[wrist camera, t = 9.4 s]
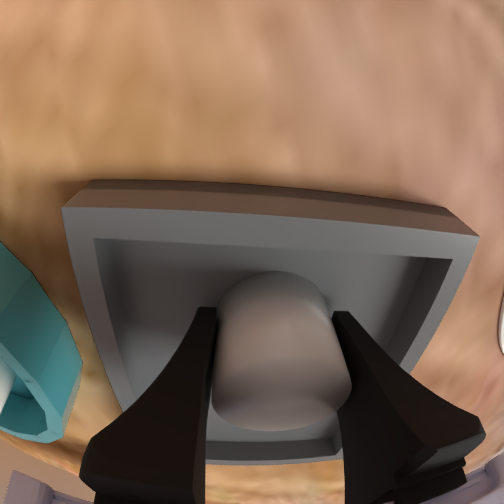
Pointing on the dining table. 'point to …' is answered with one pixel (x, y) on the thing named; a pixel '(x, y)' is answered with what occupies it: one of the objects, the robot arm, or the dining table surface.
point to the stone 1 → (5, 381)
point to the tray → (247, 264)
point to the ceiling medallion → (501, 328)
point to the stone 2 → (276, 355)
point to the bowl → (35, 356)
